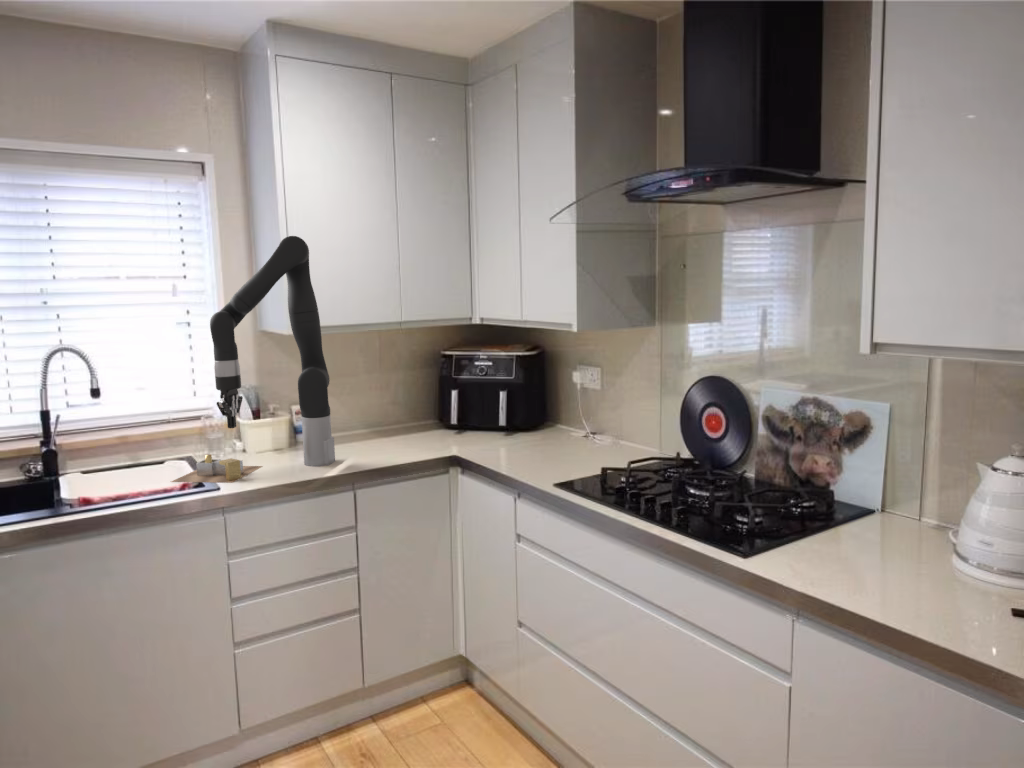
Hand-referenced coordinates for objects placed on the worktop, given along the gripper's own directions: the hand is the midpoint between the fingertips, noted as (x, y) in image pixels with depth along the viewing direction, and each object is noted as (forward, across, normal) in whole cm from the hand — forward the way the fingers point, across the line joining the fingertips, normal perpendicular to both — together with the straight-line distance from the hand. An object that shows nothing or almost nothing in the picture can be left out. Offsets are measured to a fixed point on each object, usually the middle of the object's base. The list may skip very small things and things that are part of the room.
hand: (232, 427), depth 232 cm
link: (+14, -6, +2) cm, 15 cm away
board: (+15, -6, +3) cm, 16 cm away
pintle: (+14, -6, +6) cm, 16 cm away
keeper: (+14, -11, -4) cm, 18 cm away
